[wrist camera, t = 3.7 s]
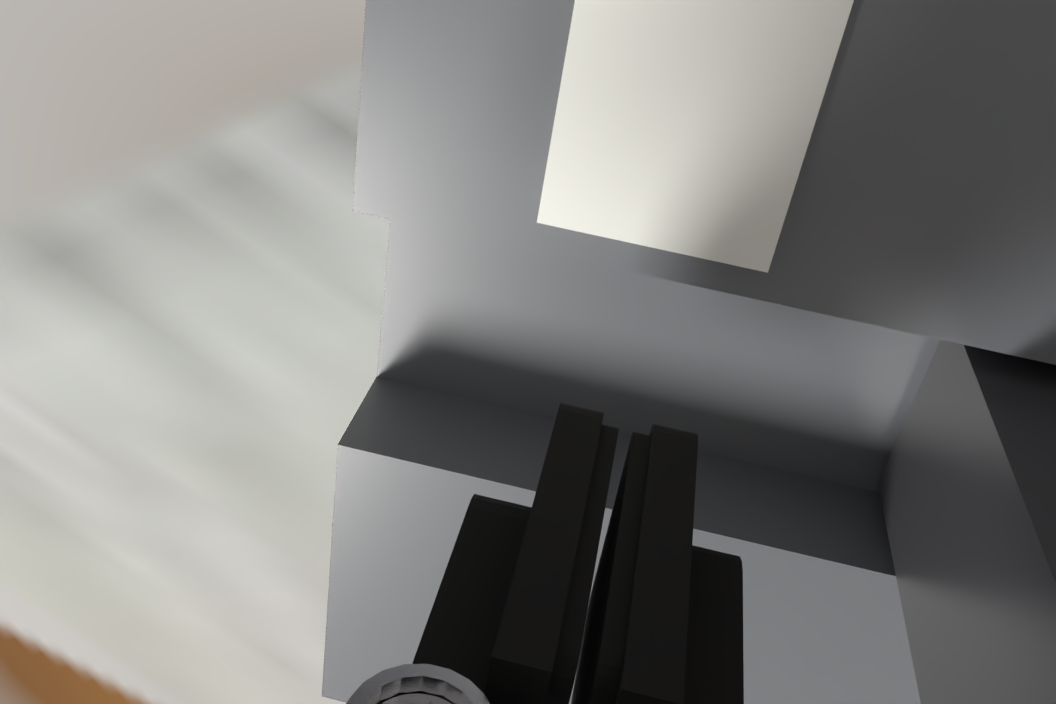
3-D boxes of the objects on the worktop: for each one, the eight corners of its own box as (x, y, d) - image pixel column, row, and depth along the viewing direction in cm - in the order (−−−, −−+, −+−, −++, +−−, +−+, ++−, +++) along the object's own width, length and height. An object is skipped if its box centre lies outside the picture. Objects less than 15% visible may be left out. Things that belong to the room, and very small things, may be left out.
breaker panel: (2053, -17, 12) (2589, 75, 9) (1314, 778, 21) (1433, 989, 17) (473, -302, 14) (379, -321, 10) (384, 552, 22) (317, 704, 19)
